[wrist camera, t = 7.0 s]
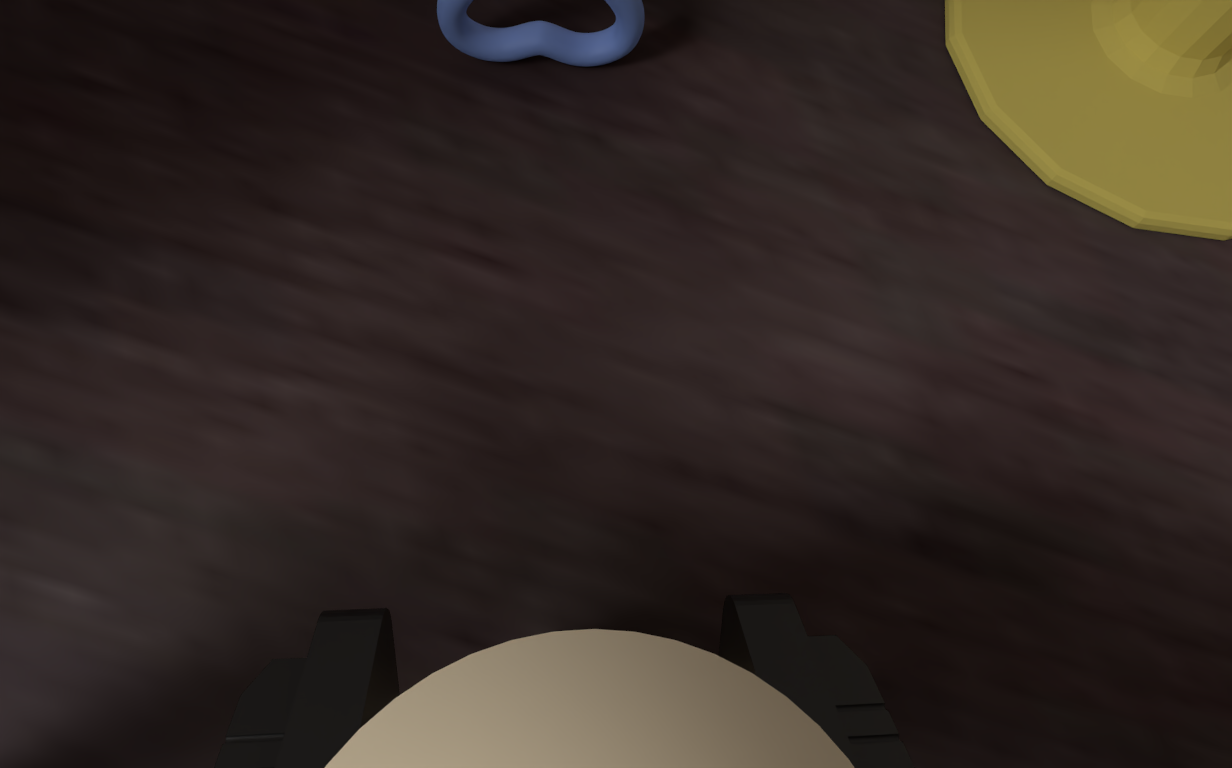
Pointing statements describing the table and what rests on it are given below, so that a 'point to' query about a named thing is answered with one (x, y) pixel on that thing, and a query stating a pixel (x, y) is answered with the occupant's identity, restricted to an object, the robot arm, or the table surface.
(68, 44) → the table surface
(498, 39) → the baby rattle
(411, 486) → the table surface
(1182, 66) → the candle
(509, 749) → the capsule
